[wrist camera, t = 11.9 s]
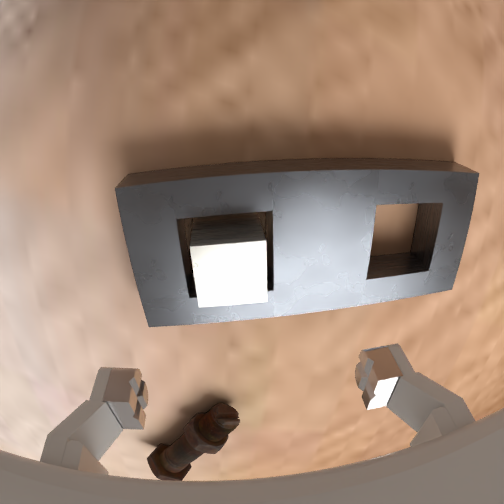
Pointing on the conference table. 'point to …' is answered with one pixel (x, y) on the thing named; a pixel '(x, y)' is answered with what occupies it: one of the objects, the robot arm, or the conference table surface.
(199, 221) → the wood grain block
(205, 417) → the bolt
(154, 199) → the grey slotted board
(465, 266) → the conference table surface
